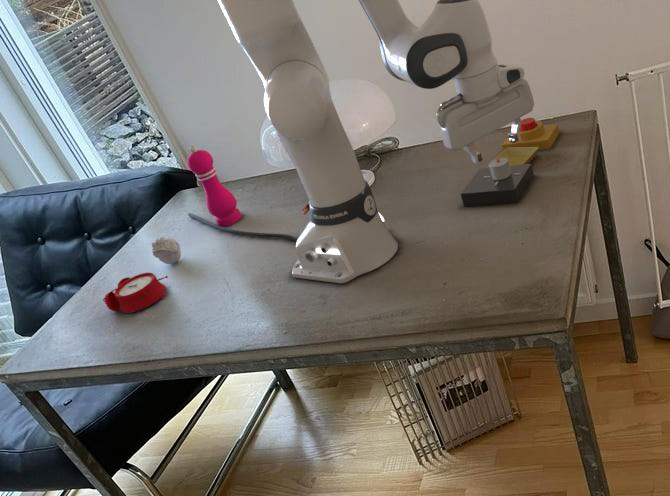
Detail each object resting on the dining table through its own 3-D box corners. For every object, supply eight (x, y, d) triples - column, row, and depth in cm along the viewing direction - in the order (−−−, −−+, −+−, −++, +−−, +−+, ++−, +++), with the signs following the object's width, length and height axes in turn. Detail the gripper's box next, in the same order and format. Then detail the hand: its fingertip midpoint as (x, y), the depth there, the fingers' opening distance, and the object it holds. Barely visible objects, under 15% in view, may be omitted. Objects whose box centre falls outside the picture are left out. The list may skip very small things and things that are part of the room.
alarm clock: (145, 297, 155) (83, 290, 158) (154, 321, 159) (94, 314, 162) (171, 269, 162) (111, 263, 166) (179, 293, 166) (121, 287, 170)
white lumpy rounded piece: (157, 273, 173) (142, 247, 169) (167, 258, 178) (153, 233, 174) (180, 267, 171) (165, 241, 167) (190, 252, 177) (176, 227, 173)
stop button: (518, 132, 168) (516, 125, 167) (523, 126, 170) (521, 118, 169) (533, 131, 166) (531, 123, 165) (538, 124, 168) (536, 116, 167)
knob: (513, 176, 152) (509, 161, 150) (494, 182, 152) (490, 167, 150) (509, 169, 155) (505, 154, 153) (491, 175, 155) (487, 160, 153)
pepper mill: (242, 210, 189) (205, 135, 178) (244, 220, 184) (207, 143, 172) (215, 221, 189) (177, 147, 177) (217, 231, 183) (177, 155, 171)
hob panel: (464, 206, 154) (459, 193, 152) (482, 181, 161) (478, 168, 160) (518, 202, 148) (514, 188, 147) (534, 176, 156) (531, 162, 154)
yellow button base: (503, 153, 170) (499, 137, 168) (514, 138, 175) (511, 122, 173) (549, 148, 165) (546, 131, 163) (559, 133, 170) (556, 116, 168)
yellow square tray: (523, 174, 158) (521, 165, 157) (489, 174, 163) (486, 165, 162) (541, 155, 163) (539, 146, 162) (508, 156, 168) (506, 147, 167)
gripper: (442, 109, 137) (463, 177, 145) (529, 64, 143) (545, 132, 151) (425, 104, 142) (446, 171, 150) (511, 61, 148) (526, 128, 156)
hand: (496, 151), depth 150 cm, fingers open, 8 cm apart
